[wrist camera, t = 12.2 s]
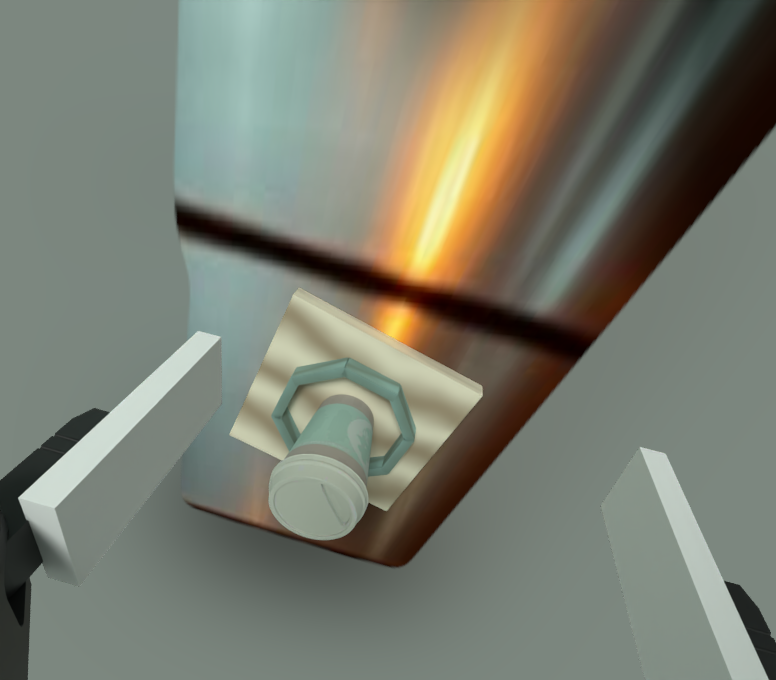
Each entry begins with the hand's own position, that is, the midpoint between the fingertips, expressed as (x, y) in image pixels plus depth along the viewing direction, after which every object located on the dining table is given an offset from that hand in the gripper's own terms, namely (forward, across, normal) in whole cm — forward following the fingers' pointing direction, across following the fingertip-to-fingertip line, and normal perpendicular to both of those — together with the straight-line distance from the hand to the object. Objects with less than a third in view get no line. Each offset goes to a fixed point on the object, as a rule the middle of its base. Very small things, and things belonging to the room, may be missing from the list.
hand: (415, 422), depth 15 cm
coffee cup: (+25, -6, -23) cm, 34 cm away
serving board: (+26, -6, -23) cm, 35 cm away
